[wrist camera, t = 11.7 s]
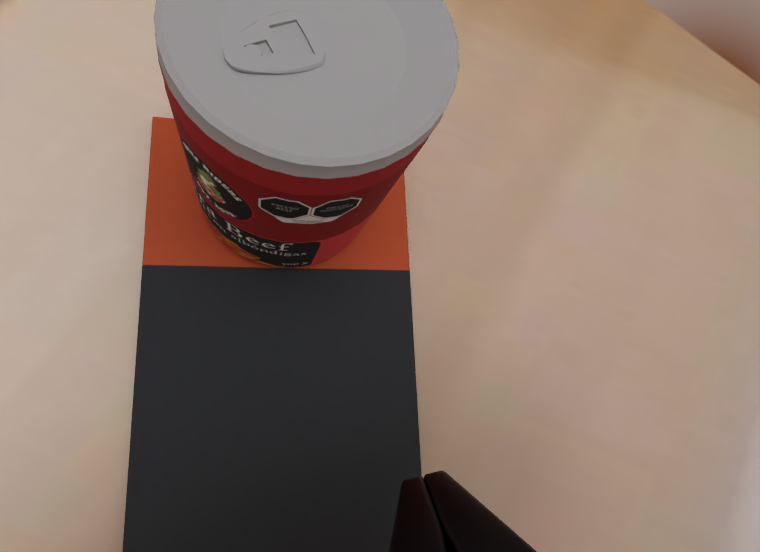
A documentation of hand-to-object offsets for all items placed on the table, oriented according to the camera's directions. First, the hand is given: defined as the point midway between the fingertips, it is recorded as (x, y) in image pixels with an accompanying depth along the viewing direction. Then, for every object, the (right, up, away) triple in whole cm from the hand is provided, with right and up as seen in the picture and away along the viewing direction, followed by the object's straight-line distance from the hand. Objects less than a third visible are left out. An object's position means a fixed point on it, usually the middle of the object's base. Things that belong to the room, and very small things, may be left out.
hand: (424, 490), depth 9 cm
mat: (-5, -2, +11) cm, 13 cm away
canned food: (-5, +8, +14) cm, 17 cm away
